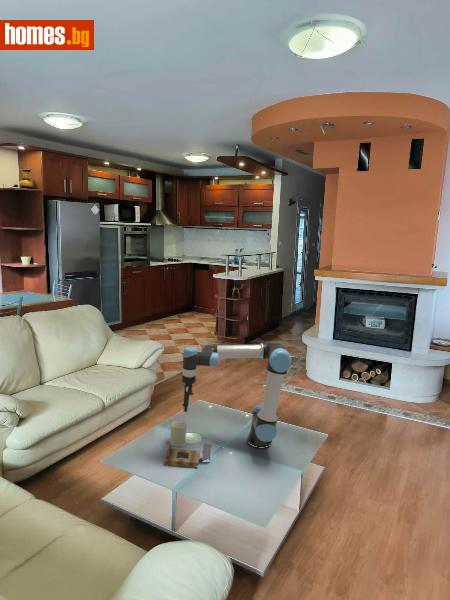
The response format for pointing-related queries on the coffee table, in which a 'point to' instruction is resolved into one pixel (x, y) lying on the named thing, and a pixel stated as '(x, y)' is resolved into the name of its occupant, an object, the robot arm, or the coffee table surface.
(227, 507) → the coffee table surface
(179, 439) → the can
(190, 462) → the jig
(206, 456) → the grey square block
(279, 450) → the coffee table surface
